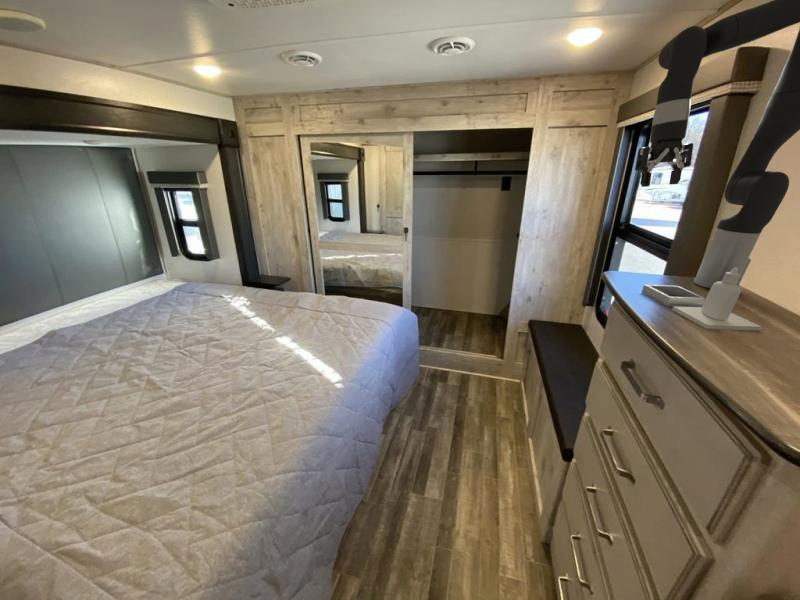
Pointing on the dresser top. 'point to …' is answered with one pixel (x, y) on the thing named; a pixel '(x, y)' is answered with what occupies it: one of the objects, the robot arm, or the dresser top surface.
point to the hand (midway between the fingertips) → (659, 185)
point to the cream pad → (710, 323)
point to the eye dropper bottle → (722, 296)
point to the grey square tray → (683, 299)
